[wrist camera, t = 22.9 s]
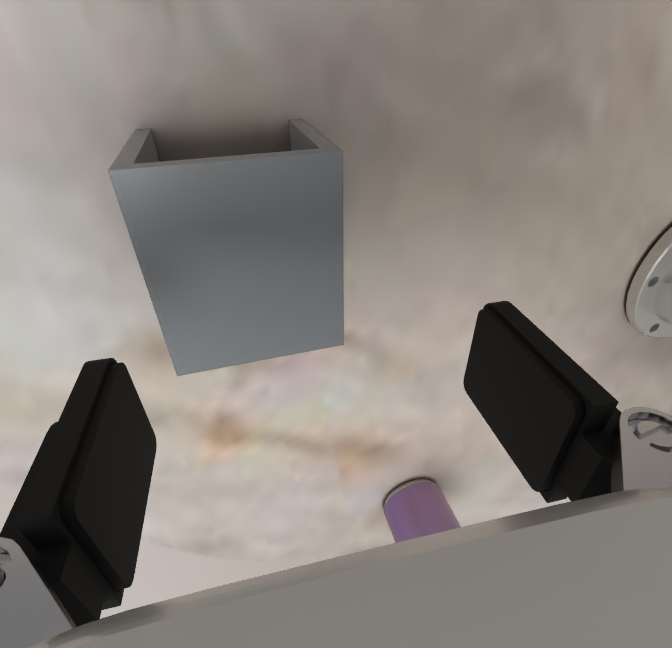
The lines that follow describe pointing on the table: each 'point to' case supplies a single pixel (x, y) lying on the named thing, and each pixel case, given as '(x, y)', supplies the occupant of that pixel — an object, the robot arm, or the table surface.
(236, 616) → the robot arm
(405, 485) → the beverage can
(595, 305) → the table surface
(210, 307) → the cover
